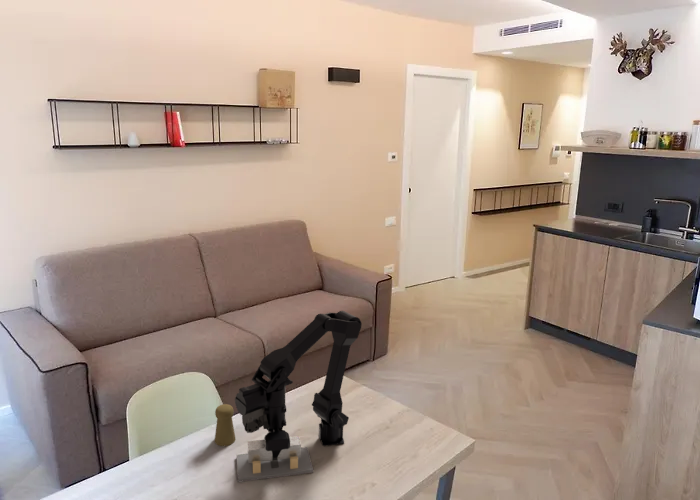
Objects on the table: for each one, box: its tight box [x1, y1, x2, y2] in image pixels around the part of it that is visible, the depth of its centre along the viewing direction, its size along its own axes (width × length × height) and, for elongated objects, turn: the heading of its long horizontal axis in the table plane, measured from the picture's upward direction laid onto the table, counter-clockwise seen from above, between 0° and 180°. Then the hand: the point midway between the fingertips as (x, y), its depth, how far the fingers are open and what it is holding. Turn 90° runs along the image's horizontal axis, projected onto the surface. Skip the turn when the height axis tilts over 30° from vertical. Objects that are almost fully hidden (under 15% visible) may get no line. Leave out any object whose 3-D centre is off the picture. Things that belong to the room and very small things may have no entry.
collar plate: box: [236, 446, 314, 483], centre depth 145 cm, size 20×10×4 cm, turn 104°
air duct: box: [247, 435, 302, 463], centre depth 144 cm, size 14×4×4 cm, turn 104°
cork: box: [214, 403, 236, 447], centre depth 154 cm, size 6×6×11 cm
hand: (274, 452), depth 145 cm, fingers closed on air duct, 4 cm apart
